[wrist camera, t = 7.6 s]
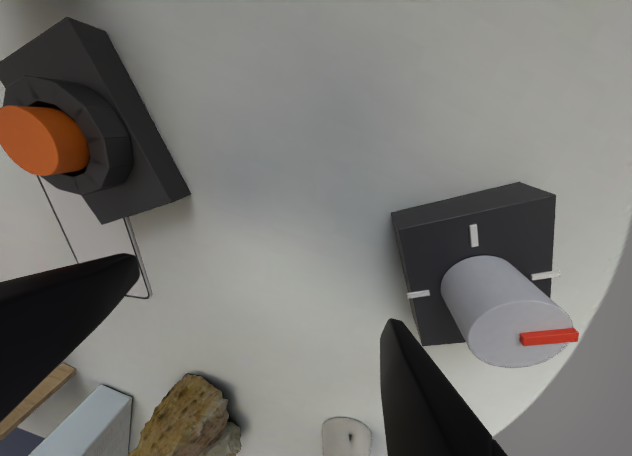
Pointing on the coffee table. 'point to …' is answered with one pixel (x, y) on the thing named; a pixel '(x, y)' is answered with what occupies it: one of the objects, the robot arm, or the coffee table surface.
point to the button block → (96, 119)
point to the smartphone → (94, 233)
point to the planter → (36, 398)
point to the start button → (42, 140)
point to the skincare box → (92, 428)
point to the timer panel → (472, 246)
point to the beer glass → (346, 438)
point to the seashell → (190, 423)
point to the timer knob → (504, 313)
